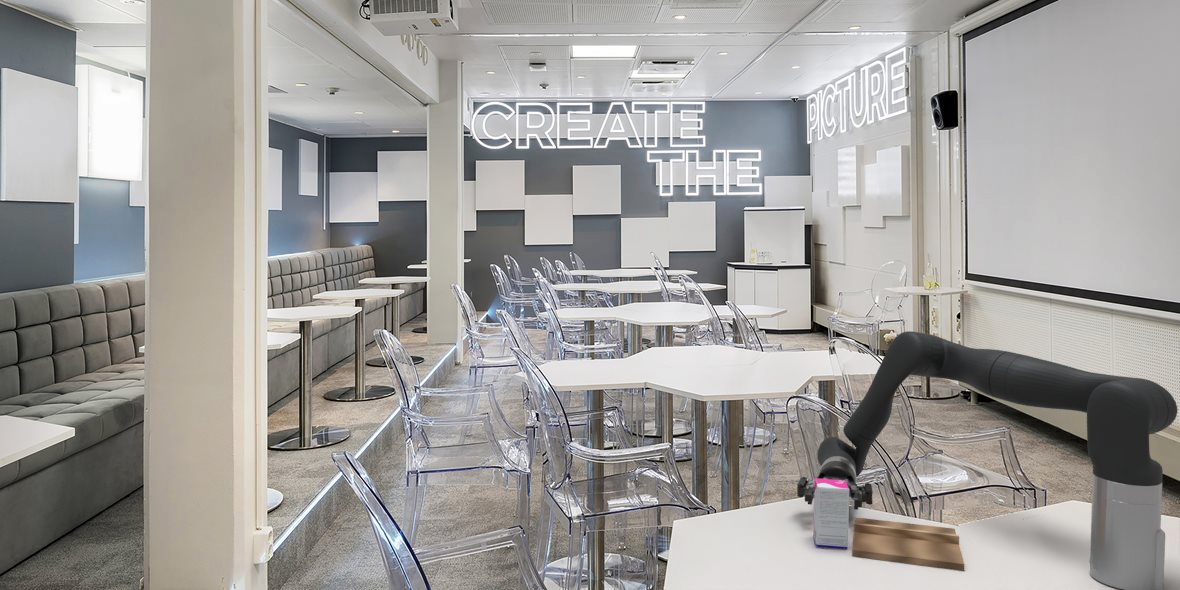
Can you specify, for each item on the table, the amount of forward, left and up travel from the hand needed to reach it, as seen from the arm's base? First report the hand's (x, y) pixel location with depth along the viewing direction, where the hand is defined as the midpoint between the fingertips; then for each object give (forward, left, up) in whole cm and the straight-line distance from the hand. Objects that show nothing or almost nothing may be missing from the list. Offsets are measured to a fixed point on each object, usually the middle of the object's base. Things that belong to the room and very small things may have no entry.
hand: (832, 502), depth 142 cm
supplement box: (0, +4, -7) cm, 8 cm away
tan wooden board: (-13, +1, -6) cm, 14 cm away
